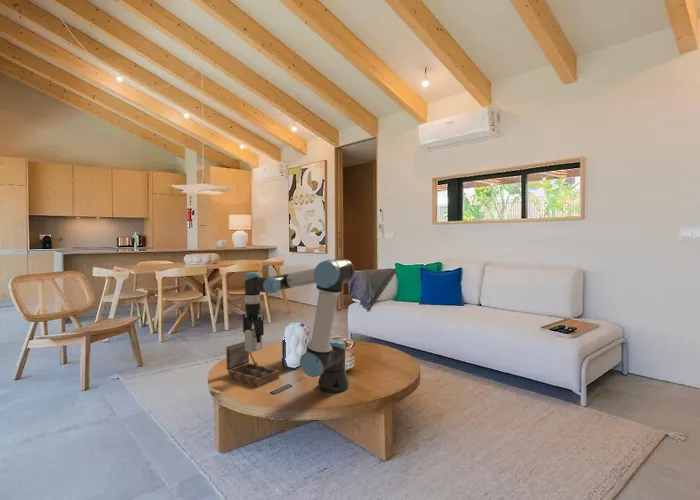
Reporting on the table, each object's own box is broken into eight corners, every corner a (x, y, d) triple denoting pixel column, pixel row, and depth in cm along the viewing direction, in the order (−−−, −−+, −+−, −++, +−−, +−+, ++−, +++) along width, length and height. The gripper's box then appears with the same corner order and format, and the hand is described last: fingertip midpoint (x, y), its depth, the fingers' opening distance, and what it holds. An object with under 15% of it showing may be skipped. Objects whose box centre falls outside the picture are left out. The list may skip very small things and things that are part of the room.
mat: (292, 386, 205) (292, 385, 205) (275, 394, 195) (275, 393, 195) (277, 382, 211) (277, 380, 211) (260, 389, 201) (260, 388, 201)
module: (262, 348, 214) (261, 328, 213) (251, 352, 208) (251, 330, 208) (255, 347, 217) (255, 326, 216) (245, 350, 211) (244, 329, 211)
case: (279, 380, 213) (278, 347, 212) (258, 389, 202) (258, 354, 201) (247, 371, 226) (247, 340, 225) (226, 379, 215) (226, 346, 214)
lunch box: (296, 355, 254) (295, 320, 253) (312, 356, 252) (312, 320, 251) (279, 371, 227) (279, 331, 226) (297, 372, 225) (297, 332, 224)
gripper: (270, 303, 209) (271, 348, 211) (246, 300, 219) (247, 343, 221) (259, 305, 203) (260, 352, 204) (234, 302, 213) (236, 347, 214)
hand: (253, 347), depth 212 cm, fingers closed on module, 5 cm apart
